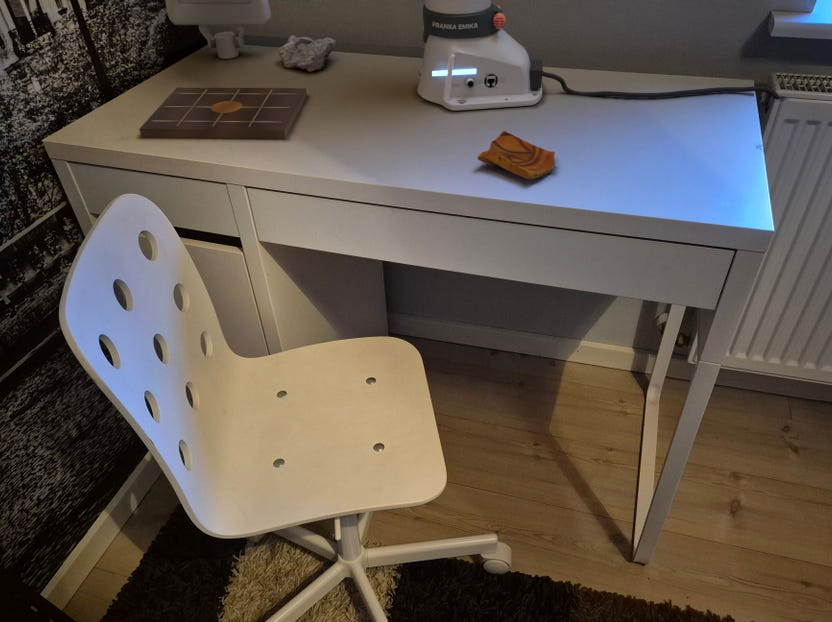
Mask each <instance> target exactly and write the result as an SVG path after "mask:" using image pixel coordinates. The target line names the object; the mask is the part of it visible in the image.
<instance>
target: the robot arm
mask: <svg viewBox="0 0 832 622" xmlns="http://www.w3.org/2000/svg"><path fill="white" fill-rule="evenodd" d="M164 2H165V8H166V11H167V16H168V19H169V21H171V23H172V24H173V25H175V26H198V30H199V32H200V33H201V35H202V36H203V37H204V38H205V39H206V41H207V45H208V49H217V48H216V43H215V39H214V35H212V33H211V32H210V31H209V28H210V26H236V30H237V31H238V32H239V33H238V35H237V36H235V39H234V43H235V48H238V49H243V48H244V47H245V41H244V36H245V34H246V31H247V26H264V25H266V24H268V22H270V20H271V18H272V11H271V6H270V3H269V0H165V1H164ZM506 19H507V18H506V15H505V14H504V12H503V9H501V6H500V5H499V4H497V5H495V4H494V3H492V0H424V4H423V6H422V12H421V35H422V40H423V43H424V44H423V47H424V48H423V57H422V65H421V72H420V76H419V82H418V85H417V89H416V91H417V94H418V95H419V96H420V97H421V98H422V99H424V100H426V101H429V102H431V103H434V104H438V105H440V106H442V107H444V108H445V109H447V110H448V111H449V110H450V111H454V112H455V111H456V112H457V111H470V110H471V111H472V110H485V109H501V108H512V107H513V108H514V107H526V106H527V107H528V106H534V105H536V104H538V103H539V102H540V101H541V99H542V97H543V83H542V82H543V77H544V78H549V79H552V80H555V81H557V82H558V83H559V84H561V88H562V90H563V91H564V92H565V93H566V94H569V95H571V96H572V95H573V96H581V97H616V98H634V99H635V98H639V99H641V98H644V99H645V98H646V99H649V98H652V99H653V98H670V97H679V96H680V97H681V96H688V95H702V94H711V93H748V92H763V93H767V94H769V95H770V96H771V97H773V99H775V100H781V97H780V95H779V93H778V92H776V91H775V90H774V89H772V88H770V87H768V86H762V85H761V86H760V85H755V86H754V85H753V86H721V87H720V86H719V87H708V88H697V89H685V90H673V91H663V92H631V91H630V92H628V91H627V92H626V91H609V90H605V91H604V90H601V91H600V90H599V91H577V90H574V89H572V88H570V87H568V86H567V83H566V81H565V79H563V78H562V77H561V76H560V75H558V74H555V73H551V72H547V71H544V69H543V66H544V65H543V60H542V59H531V58H530V57H529V53H528V51H527V50H526V49H525V47H524V46H523V45H521V44H520V43H519V42H518V41H517V40H516V39H514V38H513V37H512V36H511V35H510V34H508V33H507V32H506V31H505V30H504V27H505V26H506V23H507V21H506Z"/></svg>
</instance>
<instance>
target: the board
mask: <svg viewBox="0 0 832 622" xmlns="http://www.w3.org/2000/svg"><path fill="white" fill-rule="evenodd" d="M307 98H308V93H307V88H306V87H176V88H174V90H173V91H172V92H171V93H170V94H169V95H168V96H167V97H166V98H165V99H164V101H163V102H162V103H161V104H160V105H159V106H158V107H157V109H155V111H154V112H153V113H152V114H151V115H150V116H149V117H148V118H147V120H146V121H145V122H144V123H143V124H141V126H140V127H139V133H140V136H141V138H147V139H149V138H151V139H153V138H154V139H155V138H156V139H157V138H158V139H159V138H161V139H239V140H240V139H241V140H243V139H247V140H249V139H252V140H253V139H254V140H255V139H256V140H266V139H267V140H286V138H287V136H288V135H289V134H290V131H291V129H292V127H293V125H294V123H295V121H296V120H297V117H298V115H299V113H300V111H301V109H302V107H303V105H304V104H305V102H306V100H307Z"/></svg>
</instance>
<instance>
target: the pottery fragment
mask: <svg viewBox="0 0 832 622" xmlns="http://www.w3.org/2000/svg"><path fill="white" fill-rule="evenodd" d="M555 155H556V153H555V151H549V150H547V149H544V148H542V147H540V146H537V145H535V144H532V143H530V142H529V141H526V140H524V139H521V138H520V137H519V136H516V135H514V134H512V133H511V132H508V131H506V130H502V132H501V133H499V136H497V138H495V139H494V140H492V141H491V142H490V146H489V148H488V150H486V151H482V152H481V153H480V154H479V155H477V160H478V161H480V162H482V163H484V164H487V165H491V166H498V167H501V168H502V169H504V170H506V171H508V172H510V173H512V174H514V175H517V176H519V177H521V178H524V179H526V180H535V179H538V178H541V177H544V176H546V175H549V174H551V173H552V172H553V169H554V166H555V164H556V159H555V157H556V156H555Z"/></svg>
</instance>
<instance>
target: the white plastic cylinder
mask: <svg viewBox="0 0 832 622" xmlns="http://www.w3.org/2000/svg"><path fill="white" fill-rule="evenodd" d="M213 37H214V39H215V43H216V48H215V49H216V52H217V57H218V58H219V59H223V60H224V59H226V60H228V59H234V58H236V57H238V56H239V55H240V54H239V48H235V43H234V39H235V37H236V33H235V32H233V31H221V32H217V33H215V34H214V35H213Z"/></svg>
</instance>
